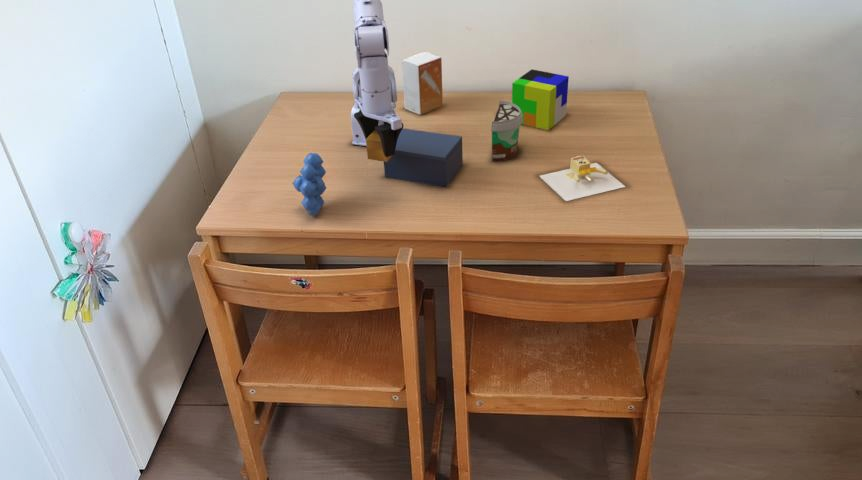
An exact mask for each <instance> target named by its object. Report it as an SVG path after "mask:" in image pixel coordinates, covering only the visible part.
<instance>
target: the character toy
mask: <svg viewBox="0 0 862 480" xmlns="http://www.w3.org/2000/svg"><path fill="white" fill-rule="evenodd" d="M591 164H592V163H591V162H590V161H589V160H588V159H587V158H586V157H585V156H584V155H583V154H582V155H578V156H574V157H571V158H570V163H569V165H570V166H569V168H568V169H569V170H570V171H571V172H572V173H573V174H574V176H573V178H574V180H575V181H576V182H577V183H580V182H581V177H585V178H586V179H587V180H588V181H589V182H591V181H592V180H593V179H592V178H591V177H589V176H588V175H590V174H593V173H599V174H603V175H605V176H606V175H607V174H608V173H609V171H608V170H607V169H605V168H604V167H602V166H601V167H602V168H601V167H596V166H593V167H591Z"/></svg>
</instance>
